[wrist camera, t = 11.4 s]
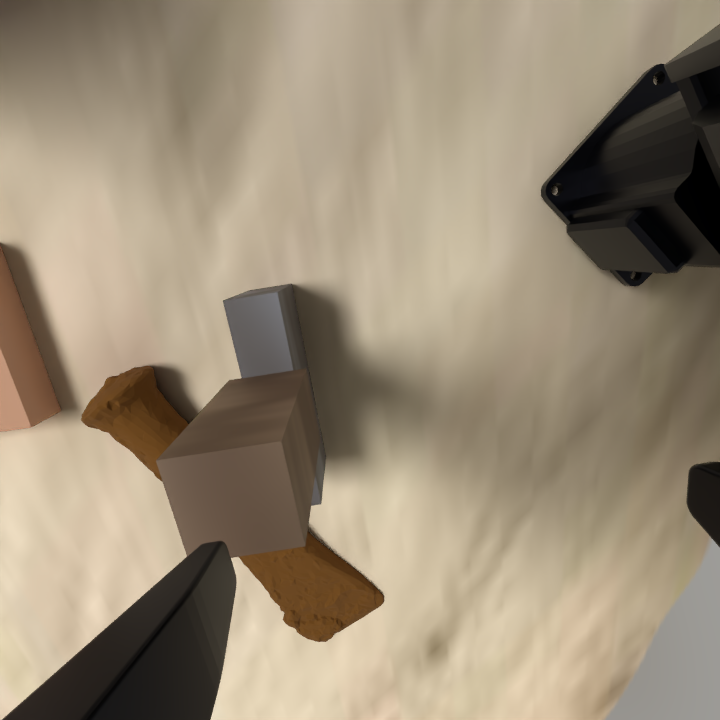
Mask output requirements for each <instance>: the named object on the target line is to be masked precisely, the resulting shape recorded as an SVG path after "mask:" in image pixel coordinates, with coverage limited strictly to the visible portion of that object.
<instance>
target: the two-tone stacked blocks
mask: <svg viewBox="0 0 720 720" xmlns="http://www.w3.org/2000/svg"><path fill="white" fill-rule="evenodd" d="M223 303H224V307H225V311H226V316H227V320H228V324H229V328H230V332H231V336H232V340H233V344H234V348H235V352H236V356H237V360H238V364H239V368H240V372H241V376H242V378H241V379H235V380H229V381H228V382H227V383H226V384H225V385H224V387H223V388H222V389H221V390H220V391H219V392H218V393H217V394H216V395H215V396H214V398H213V399H212V400H211V401H210V402H209V403H208V404H207V405H206V406H205V407H204V408H203V410H202V411H201V412H200V413H199V414H198V415H197V416H196V417H195V418H194V419H193V421H192V422H191V423H190V424H189V425H188V426H187V427H186V428H185V429H184V430H183V431H182V433H181V434H180V435H179V436H178V437H177V438H176V439H175V440H174V441H173V442H172V444H171V445H170V446H169V447H168V448H167V449H166V450H165V451H164V452H163V453H162V454H161V456H160V457H159V458H158V459H157V460H156V463H157V466H158V469H159V472H160V475H161V478H162V481H163V484H164V487H165V490H166V493H167V496H168V499H169V502H170V505H171V508H172V511H173V514H174V518H175V521H176V524H177V527H178V530H179V533H180V536H181V539H182V542H183V545H184V548H185V551H186V554H187V556H189V555H190V554H191V553H192V552H193V551H194V550H195V549H196V548H198V547H199V546H200V545H201V544H204V543H209V542H215V541H223V542H225V544H226V545H227V548H228V551H229V554H230V557H231V558H233V557H239V556H246V555H252V554H259V553H265V552H272V551H278V550H285V549H292V548H298V547H305V545H306V538H307V531H308V524H309V516H310V509H311V506H312V505H318V504H321V501H322V491H323V480H324V470H325V460H326V455H325V450H324V445H323V440H322V435H321V430H320V425H319V420H318V414H317V409H316V404H315V399H314V394H313V389H312V384H311V379H310V374H309V369H308V364H307V358H306V353H305V348H304V343H303V338H302V333H301V328H300V323H299V318H298V313H297V308H296V302H295V297H294V292H293V287H292V284H287V285H281V286H275V287H268V288H262V289H256V290H249V291H247V292H244V293H241V294H239V295H236V296H234V297H231V298H229V299H226V300H224V301H223Z"/></svg>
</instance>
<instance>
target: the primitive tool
mask: <svg viewBox="0 0 720 720" xmlns="http://www.w3.org/2000/svg"><path fill="white" fill-rule="evenodd" d="M81 421H82V422H83V423H84V424H85V425H87V426H88V427H91V428H96V429H99V430H101V431H104V432H108V433H109V434H110V435H111V436H112V437H113V438H114V439H115V440H116V441H118V442H119V443H121V444H122V445H123V446H125V447H126V448H128V449H129V450H130V451H132V452H133V453H134V454H135V456H136V457H137V458H138V459H139V460H140V461H141V462H142V463H143V464H144V465H145V466H146V467H147V468H148V469H150V470H151V471H152V472H154V474H155V476H156V477H157V478H158V479H160V480H161V481H162V478H161V475H160V472H159V469H158V466H157V463H156V460H157V459H158V458H159V457H160V456H161V454H162V453H163V452H164V451H165V450H166V449H167V448H168V447H169V446H170V445H171V444H172V442H173V441H174V440H175V439H176V438H177V437H178V436H179V435H180V434H181V433H182V431H183V430H184V429H185V428H186V427H187V426H188V425H189V424H188V423H187V421H186V420H185V419H183V418H182V417H181V416H180V415H179V414H178V413H177V412H176V411H175V410H174V408H173V407H172V406H171V405H170V404H169V402H168V401H166V399H165V398H164V396H163V394H162V393H161V392H160V391H159V390H158V389H157V386H156V379H155V376H154V369H153V368H152V367H150V366H144V367H137V368H133V369H131V370H129V371H126V372H125V373H121V374H120V375H119V376H112V377H109V378H107V379H106V381H105V384H104V386H103V387H102V388H101V389H100V391H99V392H98V393H97V395H96V396H95V397H94V398H93V399H92V400H91V401H90V402H89V404H88V405H87V407H86V409H85V411H84V413H83V414H82V419H81ZM162 482H163V481H162ZM239 558H240V559H241V560H242V562H243V563H244V565H246V566H247V567H248V568H249V570H250V571H251V572H252V573H253V575H254V576H255V577H256V578H257V579H258V580H259V581H260V582H261V583H262V585H263V586H264V588H265V589H266V590H267V591H268V592H269V594H270V597H271V598H272V599H273V600H274V601H275V603H277V604H278V605H279V606H280V609H281V610H282V611H284V613H285V614H284V618H283V620H284V622H285V623H286V624H288V626H290V627H293V628H295V629H296V631H297V632H298V633H299V634H300V635H302V636H304V637H306V638H307V639H310V640H314V641H318V642H321V641H322V642H326V641H328V640H329V639H331V638H332V637H333V635H334V633H337V632H340V631H341V630H343V629H344V628H346V627H348V626H349V625H351V624H352V623H354V622H356V621H357V620H359V619H361V618H363V617H364V616H366V615H367V614H369V613H370V612H372V611H373V610H375V609H376V608H378V607H379V606H381V605H382V604H383V602H384V596H383V595H382V594H381V593H380V592H379V591H378V589H377V588H375V587H374V586H373V584H371V583H370V582H369V581H368V580H367V579H366V578H365V577H364V576H363V575H362V574H360V573H359V572H358V571H357V570H355V569H354V568H353V567H351V566H350V565H349V564H348V563H346V562H345V561H344V560H342V559H341V558H339V557H338V556H337V555H335V554H334V553H333V552H332V551H331V550H329V549H328V548H327V547H325V546H324V545H322V544H321V543H320V542H319V541H318V540H317V539H315V538H314V537H313V536H312V535H311V534H310V533H309V532H308V531H307V538H306V545H305V547H298V548H292V549H285V550H278V551H272V552H265V553H259V554H252V555H246V556H239Z"/></svg>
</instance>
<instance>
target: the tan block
mask: <svg viewBox="0 0 720 720" xmlns="http://www.w3.org/2000/svg"><path fill="white" fill-rule="evenodd" d="M60 411H61V409H60V406H59V403H58V401H57V398H56V395H55V392H54V390H53V387H52V384H51V381H50V379H49V376H48V373H47V371H46V368H45V365H44V362H43V360H42V357H41V354H40V351H39V349H38V346H37V343H36V341H35V338H34V335H33V332H32V330H31V327H30V324H29V321H28V319H27V316H26V313H25V311H24V308H23V305H22V302H21V300H20V297H19V294H18V291H17V289H16V286H15V283H14V281H13V278H12V275H11V272H10V270H9V267H8V264H7V261H6V259H5V256H4V253H3V251H2V248H1V245H0V432H1V431H8V430H16V429H23V428H30V427H33V426H35V425H36V424H38V423H40V422H42V421H44V420H45V419H47V418H49V417H51V416H53V415H54V414H56V413H58V412H60Z"/></svg>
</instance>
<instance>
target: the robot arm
mask: <svg viewBox="0 0 720 720" xmlns="http://www.w3.org/2000/svg"><path fill="white" fill-rule="evenodd" d="M653 76H656V77H657V80H658V81H657V85H655V84H654V83H653ZM553 185H556V186H557V188H558V193H557V194H556V195H553V194H552V192H551V188H552V186H553ZM541 196H542V198H543V199H544V201H545V202H546V203H547V204H548V205H549V206H550V207H551V208H552V209H553V210H554V211H555V212H556V214H557V215H558V216H559V217H560V218H561V219H562V220H563V221H564V222H565V223H566V224H567V234H568V235H569V236H570V237H571V238H572V239H573V240H574V241H575V242H576V243H577V244H578V245H579V246H580V247H581V249H582V250H583V251H584V252H585V253H586V254H587V255H588V256H589V257H590V258H591V259H592V260H593V261H594V262H595V263H596V264H597V266H598V267H599V268H601V269H605V270H610V271H611V272H612V273H613V274H614V276H615V277H616V278H617V279H618V280H619V281H620V282H621V283H622V284H624V285H627V286H638V285H640V284H642V283H643V282H644V281H645V280H646V279H647V278H648V277H649V276H650V275H651V274H652V273H665V274H668V273H677V272H678V271H679V270H680V269H681V268H682V267H683V266H694V267H718V268H720V24H719V25H718V26H716V27H715V28H714V29H712V30H711V31H709V32H708V33H707V34H705V35H704V36H703V37H701V38H700V39H699V40H697V41H696V42H695V43H693V44H692V45H691V46H689V47H688V48H686V49H685V50H684V51H682V52H681V53H680V54H678V55H677V56H676V57H674V58H673V59H672V60H670V61H669V62H668V63H666V64H658V65H655V66H654V67H652V68H650V69H649V70H647V71H646V72H645V73H644V74H643V75H642V76H641V77H640V78H639V79H638V80H637V81H636V82H635V84H634V85H633V86H632V87H631V88H630V89H629V90H628V91H627V92H626V93H625V95H624V96H623V97H622V98H621V99H620V100H619V101H618V102H617V103H616V104H615V106H614V107H613V108H612V109H611V110H610V111H609V112H608V113H607V114H606V116H605V117H604V118H603V119H602V120H601V121H600V122H599V123H598V124H597V125H596V127H595V128H594V129H593V130H592V131H591V132H590V133H589V134H588V135H587V136H586V138H585V139H584V140H583V141H582V142H581V143H580V144H579V145H578V146H577V148H576V149H575V150H574V151H573V152H572V153H571V154H570V155H569V156H568V157H567V159H566V160H565V161H564V162H563V163H562V164H561V165H560V166H559V167H558V168H557V170H556V171H555V172H554V173H553V174H552V175H551V176H550V177H549V178H548V179H547V181H546V182H545V183H544V184H543V186H542V189H541ZM633 271H635V277H634V278H633V279H631V273H632V272H633ZM687 506H688V509H689V511H690V513H691V514H692V516H693V517H694V518H695V519H696V521H697V522H698V523H699V524H700V525H701V526H702V527H703V529H704V530H705V531H706V532H707V533H708V534H709V536H710V537H711V538H712V539H713V540H714V541H715V542H716V544H717V545H718V546H719V547H720V462H707V463H701V464H696V465H693V466H692V467H691V468H690V470H689V475H688V488H687ZM235 592H236V574H235V571H234V567H233V564H232V561H231V557H230V554H229V551H228V548H227V545H226V544H225V542H223V541H215V542H209V543H204V544H201V545H200V546H199V547H198V548H196V549H195V550H194V551H193V552H192V553H191V554H190V555H189V556H187V557H186V558H185V559H184V560H183V561H182V562H181V563H179V564H178V565H177V566H176V567H175V568H174V569H173V570H172V571H170V572H169V573H168V574H167V575H166V576H165V577H164V578H162V579H161V580H160V581H159V582H158V583H157V584H156V585H154V586H153V587H152V588H151V589H150V590H149V591H148V592H147V593H145V594H144V595H143V596H142V597H141V598H140V599H139V600H137V601H136V602H135V603H134V604H133V605H132V606H131V607H130V608H128V609H127V610H126V611H125V612H124V613H123V614H122V615H120V616H119V617H118V618H117V619H116V620H115V621H114V622H112V623H111V624H110V625H109V626H108V627H107V628H106V629H105V630H103V631H102V632H101V633H100V634H99V635H98V636H97V637H95V638H94V639H93V640H92V641H91V642H90V643H89V644H87V645H86V646H85V647H84V648H83V649H82V650H81V651H80V652H78V653H77V654H76V655H75V656H74V657H73V658H72V659H70V660H69V661H68V662H67V663H66V664H65V665H64V666H62V667H61V668H60V669H59V670H58V671H57V672H56V673H54V674H53V675H52V676H51V677H50V678H49V679H48V680H47V681H45V682H44V683H43V684H42V685H41V686H40V687H39V688H37V689H36V690H35V691H34V692H33V693H32V694H31V695H29V696H28V697H27V698H26V699H25V700H24V701H23V702H22V703H20V704H19V705H18V706H17V707H16V708H15V709H14V710H12V711H11V712H10V713H9V714H8V715H7V716H6V717H4V718H3V719H2V720H210V719H211V716H212V712H213V708H214V704H215V700H216V696H217V692H218V688H219V684H220V680H221V675H222V670H223V665H224V659H225V653H226V647H227V641H228V634H229V628H230V622H231V616H232V610H233V604H234V598H235Z"/></svg>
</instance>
